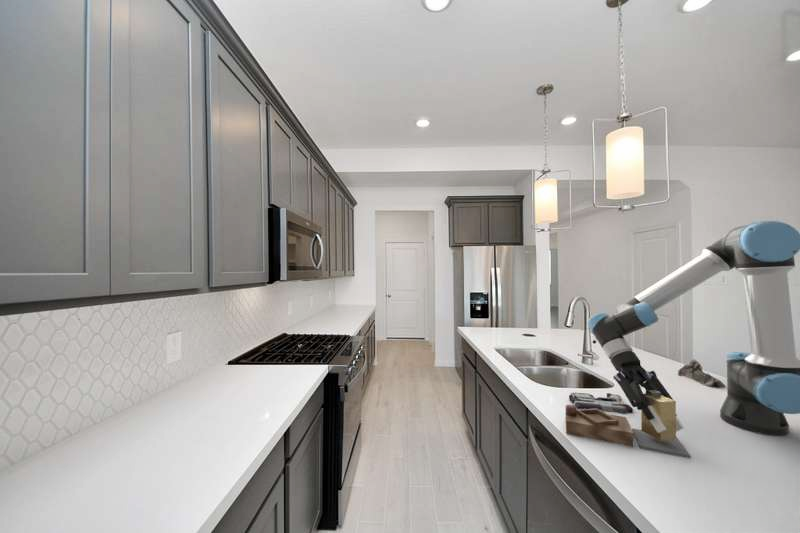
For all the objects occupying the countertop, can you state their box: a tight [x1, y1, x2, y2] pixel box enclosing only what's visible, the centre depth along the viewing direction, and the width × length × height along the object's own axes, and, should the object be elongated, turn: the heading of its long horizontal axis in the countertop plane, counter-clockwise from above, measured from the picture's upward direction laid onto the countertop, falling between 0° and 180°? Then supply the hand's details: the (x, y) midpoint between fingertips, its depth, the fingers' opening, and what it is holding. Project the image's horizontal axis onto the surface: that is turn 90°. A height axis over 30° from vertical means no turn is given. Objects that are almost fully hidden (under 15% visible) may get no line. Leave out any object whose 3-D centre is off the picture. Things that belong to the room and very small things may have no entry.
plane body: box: [565, 404, 634, 448], centre depth 100 cm, size 17×11×6 cm
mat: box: [631, 427, 691, 459], centre depth 93 cm, size 11×11×1 cm
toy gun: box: [568, 391, 634, 414], centre depth 121 cm, size 3×20×15 cm
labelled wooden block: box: [640, 389, 677, 441], centre depth 94 cm, size 5×6×12 cm
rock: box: [677, 358, 726, 389], centre depth 145 cm, size 18×11×10 cm, turn 169°
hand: (670, 430), depth 90 cm, fingers closed on labelled wooden block, 5 cm apart
